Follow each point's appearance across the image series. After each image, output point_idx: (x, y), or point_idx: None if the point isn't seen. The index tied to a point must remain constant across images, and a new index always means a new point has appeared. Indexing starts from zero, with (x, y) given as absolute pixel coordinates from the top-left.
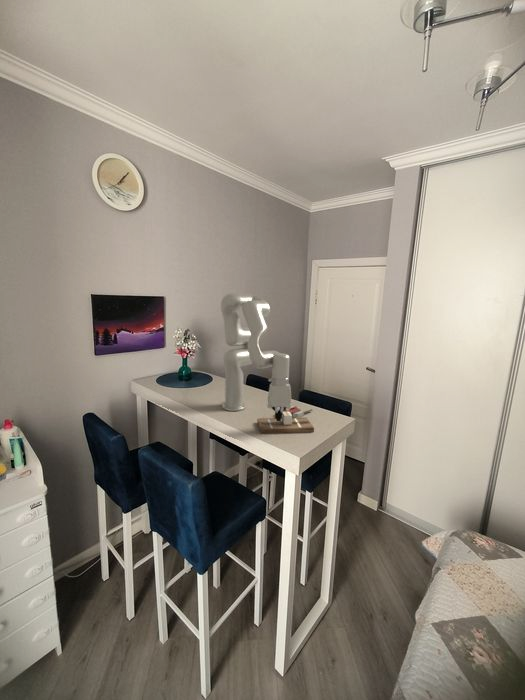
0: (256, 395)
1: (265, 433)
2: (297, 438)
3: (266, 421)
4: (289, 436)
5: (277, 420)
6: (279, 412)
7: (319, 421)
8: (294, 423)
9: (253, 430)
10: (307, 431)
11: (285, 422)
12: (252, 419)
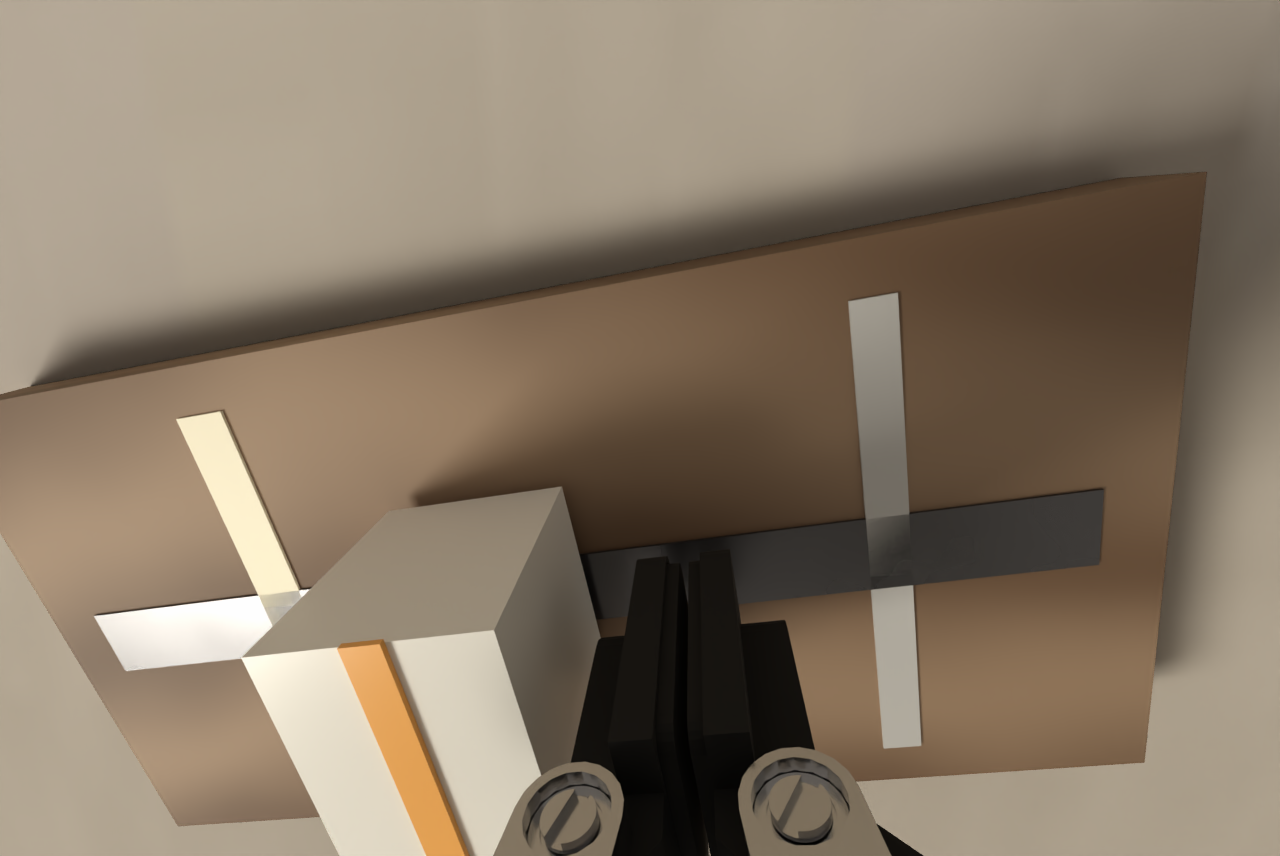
0: None
1: (999, 202)
2: (273, 31)
3: (957, 641)
4: (453, 117)
5: (724, 553)
6: (669, 791)
7: (43, 766)
8: None
9: (1261, 337)
10: (117, 370)
11: (515, 515)
12: (1155, 801)
